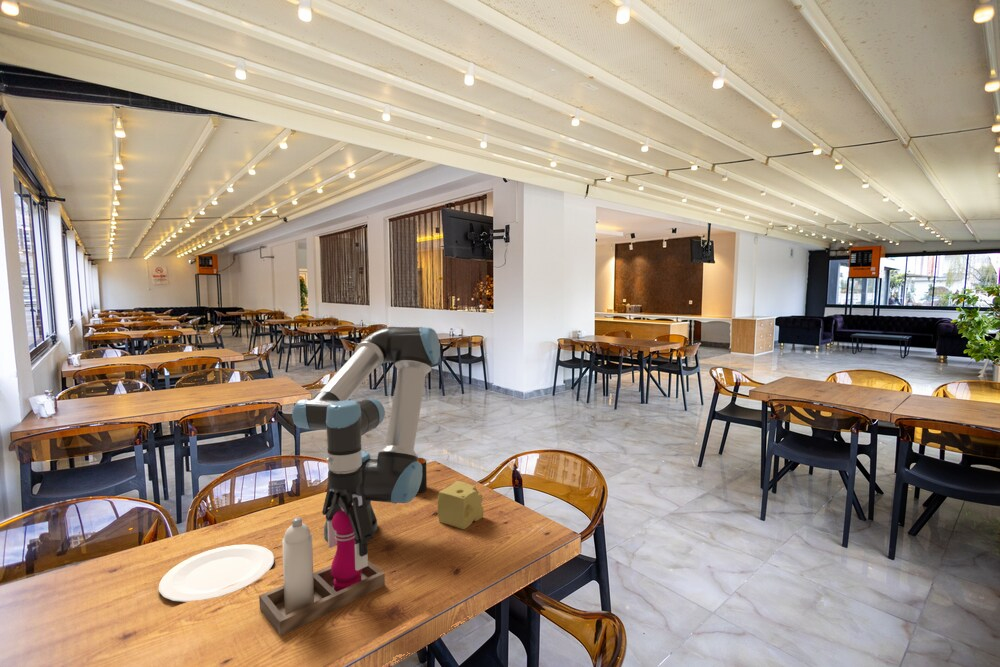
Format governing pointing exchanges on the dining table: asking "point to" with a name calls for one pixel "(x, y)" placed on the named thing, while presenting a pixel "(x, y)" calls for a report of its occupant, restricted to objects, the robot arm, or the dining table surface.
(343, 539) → the pepper mill
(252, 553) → the plate
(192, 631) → the dining table surface
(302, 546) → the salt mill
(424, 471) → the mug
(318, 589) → the wooden compartment tray
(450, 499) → the cheese
